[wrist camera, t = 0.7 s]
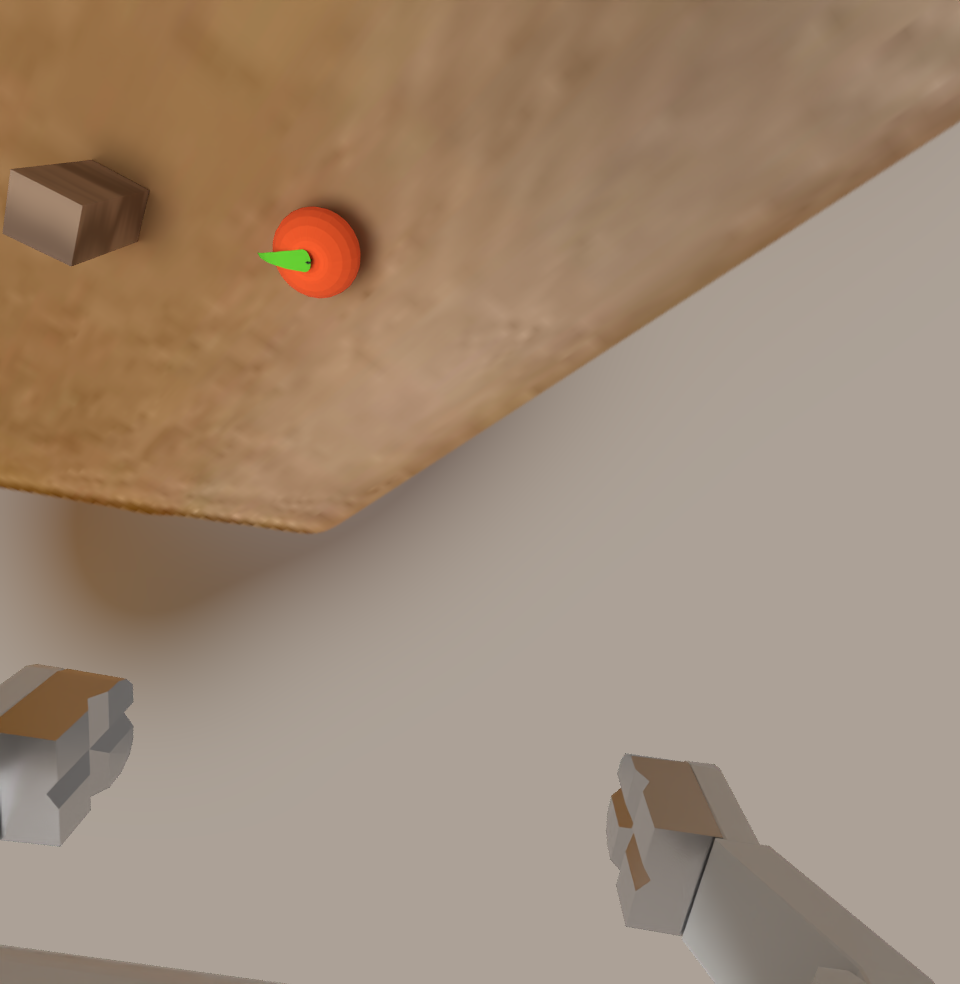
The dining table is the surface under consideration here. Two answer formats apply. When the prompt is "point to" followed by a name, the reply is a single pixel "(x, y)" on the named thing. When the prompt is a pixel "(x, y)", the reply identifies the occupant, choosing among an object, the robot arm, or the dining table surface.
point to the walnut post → (73, 210)
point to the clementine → (315, 252)
